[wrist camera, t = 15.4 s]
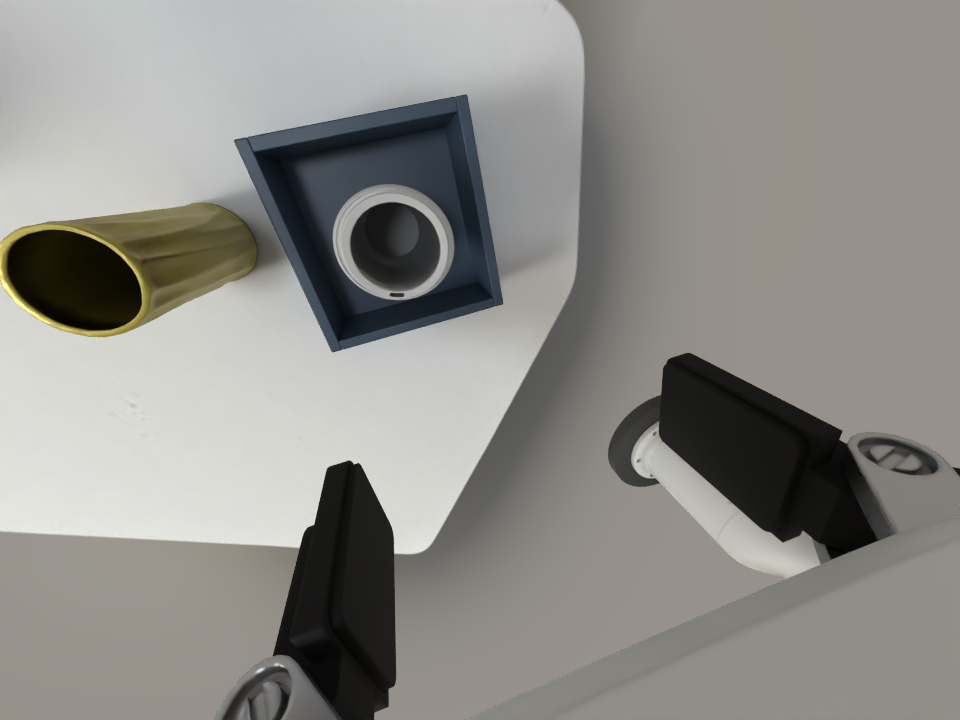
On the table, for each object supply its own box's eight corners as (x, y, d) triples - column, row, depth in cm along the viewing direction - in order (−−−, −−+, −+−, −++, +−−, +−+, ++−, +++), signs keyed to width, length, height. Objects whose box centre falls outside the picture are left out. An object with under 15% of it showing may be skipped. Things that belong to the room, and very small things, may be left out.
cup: (351, 266, 30) (333, 303, 20) (347, 182, 27) (324, 174, 17) (431, 271, 32) (454, 307, 22) (434, 193, 29) (463, 192, 19)
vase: (148, 230, 26) (-65, 263, 14) (212, 186, 26) (55, 179, 14) (216, 295, 29) (92, 369, 17) (274, 255, 29) (192, 301, 17)
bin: (449, 115, 28) (467, 93, 22) (483, 285, 35) (503, 304, 29) (267, 152, 26) (232, 139, 20) (341, 324, 33) (332, 353, 27)
